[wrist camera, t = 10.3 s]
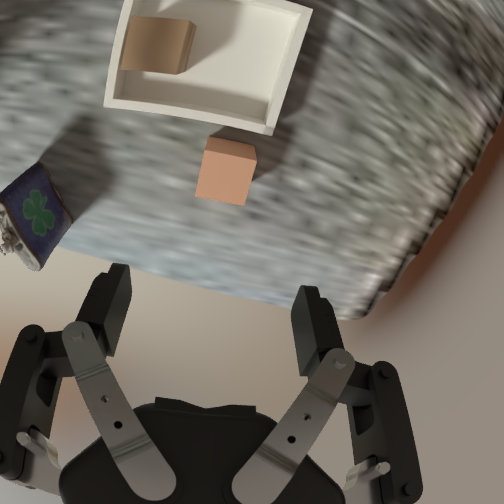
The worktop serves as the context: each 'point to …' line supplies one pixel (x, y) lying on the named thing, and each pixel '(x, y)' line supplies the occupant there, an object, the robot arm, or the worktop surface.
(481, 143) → the worktop surface
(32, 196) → the flask
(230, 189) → the terracotta block
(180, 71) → the walnut block
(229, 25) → the tray
